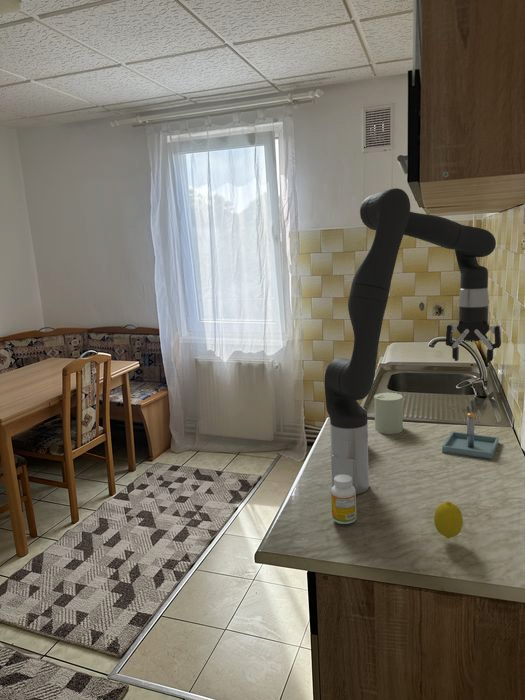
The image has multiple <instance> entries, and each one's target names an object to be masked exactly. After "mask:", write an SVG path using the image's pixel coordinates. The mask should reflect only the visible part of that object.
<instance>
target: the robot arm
mask: <svg viewBox="0 0 525 700" xmlns="http://www.w3.org/2000/svg"><path fill="white" fill-rule="evenodd" d="M410 201H411V200H410V197H409V195H408V193H407V192H406V190H403V189H401V188H397V187H395V188H394V187H393V188H389V189H385V190H381V191H379V192H376V193H375V192H374V193H373V194H370V195H369V196H367V197H366V198H365V199H364V200H363V201H362V203H361V205H360V207H359V215H360V219H361V221H362V223H363V224H364V225H365V226H366V228H368V229H370V230H372V231H375V234H374V237H373V241H372V244H371V246H370V249H369V250H368V253H366V256H365V257H364V259H363V260H362V262H361V264H360V265H359V266H358V268H357V270H356V272H355V274H354V276H353V278H352V282H351V286H350V291H349V296H348V301H347V311H348V315H349V320H350V322H351V326H352V331H353V340H354V341H353V349H352V354H351V358H343V357H337V358H334V359H333V360H331V361H330V362H329V363H328V365H327V366H326V368H325V371H324V372H325V373H324V379H323V382H324V384H323V385H324V395H325V408H326V412H327V414H328V416H329V423H330V428H329V429H330V453H331V456H330V457H331V458H330V459H331V462H330V463H331V464H330V465H331V466H330V467H331V488H332V487H333V486H334V477H335V476H337V475H349V476H351V477H352V486H354V488H355V490H356V496H357V495H361V494H363V493H365V492H367V491H368V490H369V487H370V486H369V485H370V483H369V481H370V480H369V479H370V478H369V477H370V476H369V474H370V473H369V440H368V439H369V438H368V437H369V434H368V433H369V431H368V430H369V429H368V428H369V427H368V423H369V422H368V420H369V419H368V413H367V410H366V409H365V410H364V409H363V408H364V407H362V405H360V404H359V402H358V401H361V400H363V399H365V398H366V397H367V396H369V394H370V392H371V391H372V388H373V385H374V382H375V376H376V369H377V361H378V352H379V342H380V338H381V332H382V326H383V321H384V317H385V312H386V309H387V308H386V307H387V304H388V300H389V296H390V290H391V285H392V279H393V276H394V270H395V267H396V262H397V259H398V258H397V257H398V255H399V250H400V246H401V243H402V241H403V239H404V236H408V237H411V238H414V239H415V238H416V239H418V240H420V241H424V242H427V243H430V244H433V245H435V246H438V247H441V248H444V249H448V250H454V253H455V258H456V261H457V266H458V269H459V273H460V284H459V285H460V288H459V289H460V290H459V296H458V297H459V298H458V323H457V325H456V324H455V325H454V324H451V323H450V324H448V325H447V326H446V334H445V335H446V336H445V345H446V346H447V347H450V348H452V359H453V360H454V361H455V362H458V361H459V353H460V347H459V345H460V344H461V343H462V342H463V341H464V340H465V341H467V342H468V341H474V342H479V341H481V342H482V344H484V345H485V347H486V348H487V350H486V363H487V364H490V363H491V362H492V361H493V360H494V350H495V349H499V348H500V347H501V346H502V337H501V336H502V335H501V333H502V332H501V326H500V325H499V324H498V325H490V326H489V304H490V300H489V289H488V287H489V271H488V268H487V267H486V266H482V265H480V264H479V263H478V260H477V258H485V257H488V256H489V255H491V254H492V253H493V252H494V250H495V249H496V245H497V241H496V240H497V239H496V237H495V236H494V234H493V233H492V232H491V231H489V230H487V229H484V228H480V227H475V226H472V225H471V226H470V225H465V224H461V223H458V222H456V221H454V220H451V219H448V218H446V217H443V216H438V215H433V214H426V213H419V212H414V211H411V202H410ZM456 330H457V331H458V333H459V334H460V335H459V337H458V338H457V339H456V340H455V341H453V333H455V332H456ZM490 331H491V333H492V334H493V335H494V343H492V341H491V340H490V338H489V336H488V335H487V333H488V332H490Z"/></svg>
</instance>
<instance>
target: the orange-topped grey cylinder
mask: <svg viewBox="0 0 525 700" xmlns="http://www.w3.org/2000/svg"><path fill="white" fill-rule="evenodd" d="M475 414H476V413H473V412H467V413H466V433H467V447H469V448H473V447H474V434H475V421H476V417H475V416H476V415H475Z"/></svg>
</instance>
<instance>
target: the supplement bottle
mask: <svg viewBox="0 0 525 700" xmlns="http://www.w3.org/2000/svg"><path fill="white" fill-rule="evenodd" d="M330 491H331V492H330V494H331V518H332V520H333V521H334V522H335V523H337V524H340V525H341V524H342V525H348V524H352V523H354V522H356V520H357V497H356V496H357V495H356V490H355V488H354V486H352V477H351V476H349V475H337V476H335V477H334V486H333V487H332V486H331V489H330Z"/></svg>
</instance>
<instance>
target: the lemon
mask: <svg viewBox="0 0 525 700" xmlns="http://www.w3.org/2000/svg"><path fill="white" fill-rule="evenodd" d="M463 520H464V518H463V513H462V512H461V509H460V507H458V505H456V504H455V503H453V502H451V501H445V502H441V503H440V504H438V506H437V507H436V508H435V510H434V516H433V522H434V527H435V530H436V531H437V532H438V533H439V534H440V535H441V536H443V537H445V538H446V539H450V538H454V537H456V536H458V535H459V534H460V533H461V531H462V528H463V526H464V521H463Z"/></svg>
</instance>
